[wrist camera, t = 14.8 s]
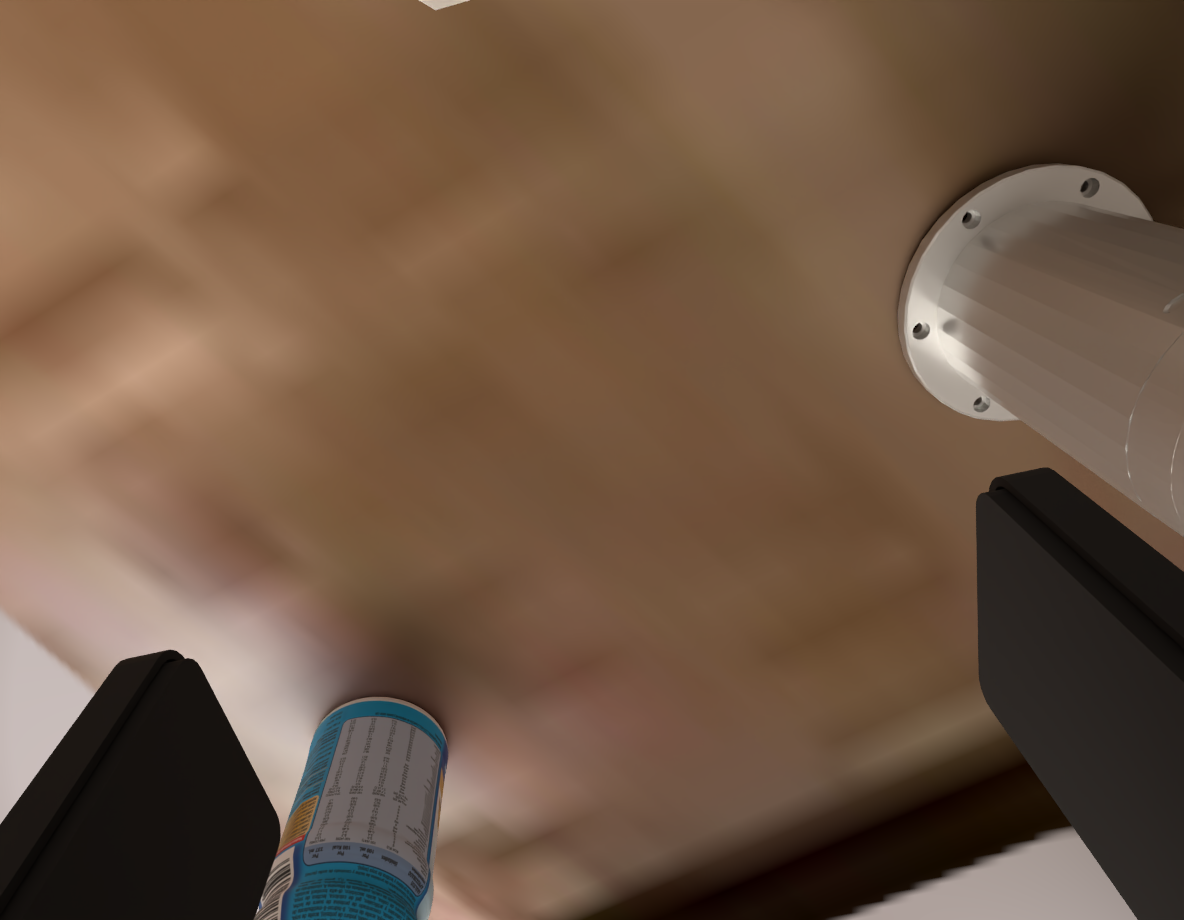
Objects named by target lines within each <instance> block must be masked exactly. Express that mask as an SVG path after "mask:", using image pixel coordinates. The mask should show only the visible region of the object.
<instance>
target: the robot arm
mask: <svg viewBox="0 0 1184 920" xmlns="http://www.w3.org/2000/svg"><path fill="white" fill-rule="evenodd" d="M1082 184H1083V186H1082ZM1081 186H1082V188H1081ZM966 212H967V218H966V219H965V220H964V221H963V222H962V220H963V216H964V215H965V213H966ZM916 324H918V327H917V329H915V330H913V328H914V327H915V325H916ZM898 332H899V339H900V343H901V347H902V350H903V354H904V357H905V359H906V361H907V363H908V365H909V367H910V369H911V371H912V373H913V375H914V376H915V377H916V378H917V380H918V381H919V382H920V383H921V384H922V385H923V387H924V388H925V389H926V390H927V391H928V392H929V393H931V394H932V395H933V396H934V397H935V398H937V399H938V400H939V401H940V402H941V403H943V404H945V405H947V406H948V407H950V408H952V409H954V410H955V411H957V412H959V413H961V414H964V415H967V416H970V417H973V418H977V419H984V420H994V421H1010V420H1021V421H1023V422H1024V423H1025V424H1027V425H1028V426H1030V427H1031V428H1032V429H1034V430H1035V431H1037V432H1038V433H1039V434H1041V435H1042V436H1044V437H1045V438H1046V439H1048V440H1049V441H1050V442H1052V443H1053V444H1055V445H1056V446H1057V447H1059V448H1060V449H1062V450H1063V451H1064V452H1066V453H1067V454H1069V455H1070V456H1071V457H1073V458H1074V459H1075V460H1077V461H1078V462H1080V463H1081V464H1082V465H1084V466H1085V467H1087V468H1088V469H1089V470H1091V471H1092V472H1093V473H1095V474H1096V475H1098V476H1099V477H1100V478H1102V479H1103V480H1105V481H1106V482H1107V483H1109V484H1110V485H1112V486H1113V487H1114V488H1116V489H1117V490H1118V491H1120V492H1121V493H1123V494H1124V495H1125V496H1127V497H1128V498H1130V499H1131V500H1132V501H1134V502H1135V503H1136V504H1138V505H1139V506H1141V507H1142V508H1143V509H1145V510H1146V511H1148V512H1149V513H1150V514H1152V515H1153V516H1155V517H1156V518H1158V519H1159V520H1160V521H1162V522H1163V523H1165V524H1166V525H1167V526H1169V527H1170V528H1172V529H1173V530H1175V531H1176V532H1177V533H1179V534H1180V535H1182V536H1183V537H1184V229H1182V228H1178V227H1174V226H1170V225H1165V224H1161V223H1157V222H1153V219H1152V216H1151V215H1150V213H1149V212H1148V210H1147V209H1146V207H1145V206H1144V204H1143V202H1142V201H1141V199H1140V198H1139V197H1138V196H1137V195H1136V194H1135V193H1134V192H1133V191H1131V190H1130V189H1129V188H1128V187H1127V186H1126V185H1125V184H1124V183H1122V182H1121V181H1119V180H1117V179H1115V178H1113V177H1111V176H1109V175H1108V174H1106V173H1104V172H1101V171H1097V170H1093V169H1089V168H1086V167H1082V166H1076V165H1068V164H1060V163H1053V164H1039V165H1030V166H1027V167H1023V168H1019V169H1015V170H1012V171H1008V172H1005V173H1003V174H1001V175H999V176H997V177H995V178H992V179H990V180H988V181H986V182H984V183H982V184H980V185H979V186H977V187H976V188H975V189H973V190H972V191H970V192H969V193H967V194H966V195H964V196H963V197H962V198H960V199H959V200H958V201H957V202H956V203H954V204H953V205H952V206H951V207H950V208H949V209H948V210H947V211H946V212H945V213H944V214H943V215H942V216H941V217H940V218H939V219H938V220H937V221H936V223H935V224H934V225H933V227H932V228H931V229H930V231H929V232H928V233H927V235H926V236H925V237H924V239H923V240H922V241H921V243H920V245H919V247H918V249H917V251H916V253H915V254H914V256H913V258H912V260H911V262H910V264H909V267H908V269H907V272H906V275H905V278H904V281H903V284H902V287H901V293H900V300H899V306H898ZM976 399H977V400H976ZM976 536H977V598H978V659H979V681H980V685H981V689H982V692H983V695H984V697H985V699H986V702H987V704H988V705H989V707H990V709H991V710H992V712H993V713H994V714H995V716H996V717H997V719H998V720H999V722H1000V723H1001V724H1002V726H1003V727H1004V729H1005V730H1006V732H1007V733H1008V734H1009V736H1010V737H1011V739H1012V740H1013V742H1014V743H1015V745H1016V746H1017V747H1018V749H1019V750H1020V752H1021V753H1022V755H1023V756H1024V757H1025V759H1026V760H1027V762H1028V763H1029V765H1030V766H1031V767H1032V769H1033V770H1034V772H1035V773H1036V775H1037V776H1038V777H1039V779H1040V780H1041V782H1042V783H1043V785H1044V786H1045V787H1046V789H1047V790H1048V792H1049V793H1050V795H1051V796H1052V797H1053V799H1054V800H1055V802H1056V803H1057V805H1058V806H1059V807H1060V809H1061V810H1062V812H1063V813H1064V815H1065V816H1066V817H1067V819H1068V820H1069V822H1070V823H1071V825H1072V826H1073V827H1074V829H1075V830H1076V832H1077V833H1078V835H1079V836H1080V837H1081V839H1082V840H1083V842H1084V843H1085V845H1086V846H1087V848H1088V849H1089V850H1090V851H1091V853H1092V855H1093V856H1094V858H1095V859H1096V860H1097V862H1098V863H1099V865H1100V866H1101V868H1102V869H1103V870H1104V872H1105V873H1106V875H1107V876H1108V878H1109V879H1110V880H1111V882H1112V883H1113V885H1114V886H1115V887H1116V889H1117V890H1118V892H1119V893H1120V895H1121V896H1122V897H1123V899H1124V900H1125V902H1126V903H1127V905H1128V906H1129V908H1130V909H1131V910H1132V912H1133V913H1134V915H1135V916H1136V917H1137V919H1138V920H1184V572H1183V571H1182V570H1180V569H1179V568H1178V567H1177V566H1175V565H1174V564H1173V563H1172V562H1170V561H1169V560H1168V559H1166V558H1165V557H1164V556H1163V555H1161V554H1160V553H1159V552H1157V551H1156V550H1155V549H1154V548H1152V547H1151V546H1150V545H1149V544H1147V543H1146V542H1145V541H1143V540H1142V539H1141V538H1140V537H1138V536H1137V535H1136V534H1134V533H1133V532H1132V531H1131V530H1129V529H1128V528H1127V527H1126V526H1124V525H1123V524H1122V523H1120V522H1119V521H1118V520H1117V519H1115V518H1114V517H1113V516H1112V515H1110V514H1109V513H1108V512H1106V511H1105V510H1104V509H1103V508H1101V507H1100V506H1099V505H1097V504H1096V503H1095V502H1094V501H1092V500H1091V499H1090V498H1089V497H1087V496H1086V495H1085V494H1083V493H1082V492H1081V491H1080V490H1078V489H1077V488H1076V487H1074V486H1073V485H1072V484H1071V483H1069V482H1068V481H1067V480H1066V479H1064V478H1063V477H1062V476H1060V475H1059V474H1058V473H1057V472H1055V471H1054V470H1052V469H1050V468H1039V469H1034V470H1029V471H1025V472H1020V473H1015V474H1010V475H1005V476H1001V477H996V478H995V479H994V480H993V481H992V482H991V485H990V488H989V492H986V493H981V494H980V495H979V496H978V498H977V501H976ZM279 844H280V823H279V819H278V816H277V814H276V811H275V810H274V808H273V806H272V804H271V802H270V800H269V798H268V796H267V794H266V792H265V790H264V788H263V786H262V785H261V783H260V781H259V779H258V777H257V775H256V773H255V771H254V769H253V767H252V765H251V763H250V761H249V760H248V758H247V756H246V754H245V752H244V750H243V748H242V746H241V744H240V742H239V740H238V738H237V736H236V734H235V733H234V731H233V729H232V727H231V725H230V723H229V721H228V719H227V717H226V715H225V713H224V711H223V709H222V708H221V706H220V704H219V702H218V700H217V698H216V696H215V694H214V692H213V690H212V688H211V686H210V684H209V683H208V681H207V679H206V677H205V675H204V673H203V671H202V669H201V667H200V666H199V664H198V663H197V662H196V661H194V660H193V659H189V658H187V659H185V658H184V657H183V656H182V655H181V654H180V653H178V652H177V651H174V650H166V651H162V652H157V653H152V654H147V655H142V656H138V657H133V658H128V659H125V660H122V661H120V662H119V663H118V664H117V665H116V666H115V667H114V669H113V670H112V671H111V673H110V674H109V675H108V677H107V678H106V680H105V681H104V682H103V684H102V685H101V686H100V688H99V689H98V691H97V692H96V693H95V695H94V696H93V698H92V699H91V700H90V702H89V703H88V704H87V706H86V707H85V709H84V710H83V711H82V713H81V714H80V716H79V717H78V719H77V720H76V721H75V722H74V724H73V725H72V727H71V728H70V729H69V731H68V732H67V733H66V735H65V736H64V738H63V739H62V740H61V742H60V743H59V744H58V746H57V747H56V749H55V750H54V751H53V753H52V754H51V755H50V757H49V758H48V760H47V761H46V762H45V764H44V765H43V766H42V768H41V769H40V771H39V772H38V773H37V775H36V776H35V778H34V779H33V780H32V782H31V783H30V785H29V786H28V787H27V789H26V790H25V791H24V793H23V794H22V795H21V797H20V798H19V800H18V801H17V802H16V804H15V805H14V806H13V808H12V809H11V811H10V812H9V813H8V815H7V816H6V817H5V819H4V820H3V822H2V823H1V824H0V920H254V918H255V915H256V912H257V909H258V906H259V903H260V900H261V897H262V895H263V892H264V889H265V886H266V883H267V880H268V877H269V874H270V871H271V868H272V866H273V863H274V860H275V857H276V854H277V851H278V848H279Z"/></svg>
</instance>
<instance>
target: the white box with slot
mask: <svg viewBox="0 0 1184 920" xmlns="http://www.w3.org/2000/svg"><path fill="white" fill-rule="evenodd" d="M419 1H421V2H423V3H424V4H426V5H428V6H429V7H431V8H433V9H434V10H438V9H441V8H445V7H448V6H452V5H455V4H459V3H462V2H465V1H469V0H419Z"/></svg>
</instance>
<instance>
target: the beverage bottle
mask: <svg viewBox="0 0 1184 920" xmlns="http://www.w3.org/2000/svg"><path fill="white" fill-rule="evenodd" d="M447 761H448V745H447V740H446V737H445V735H444V732H443V730H442V729H441V727H440V726H439V724H438V723H437V722H436V720H435V719H434V718H433V717H432V716H431V715H429V714H428V713H427V712H426V711H424V710H423V709H421V708H420V707H418V706H416V705H414V704H412V703H409V702H406V701H403V700H400V699H395V698H390V697H367V698H361V699H357V700H353V701H350V702H348V703H345V704H343V705H341V706H340V707H338V708H336V709H335V710H333V711H332V712H331V713H329V714H328V715H327V716H326V717H325V718H324V719H323V721H322V722H321V723H320V725H319V726H318V728H317V730H316V732H315V734H314V737H313V740H312V743H311V746H310V750H309V755H308V759H307V763H306V767H305V770H304V773H303V776H302V779H301V782H300V785H299V788H298V791H297V794H296V797H295V800H294V803H293V806H292V809H291V812H290V815H289V818H288V821H287V824H286V827H285V830H284V833H283V836H282V838H281V841H280V844H279V848H278V851H277V854H276V857H275V860H274V863H273V866H272V868H271V871H270V874H269V877H268V880H267V883H266V886H265V889H264V892H263V895H262V897H261V900H260V903H259V911H258V913H257V914H256V915H255V918H254V920H428V918H429V915H430V911H431V906H432V901H433V891H434V888H433V879H432V878H433V870H434V861H435V853H436V844H437V836H438V827H439V819H440V811H441V802H442V794H443V786H444V779H445V773H446V768H447Z"/></svg>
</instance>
